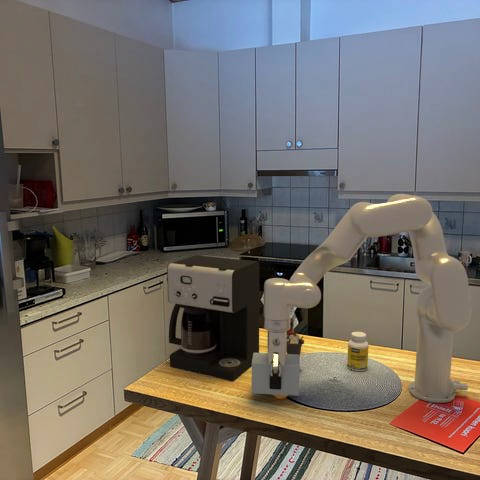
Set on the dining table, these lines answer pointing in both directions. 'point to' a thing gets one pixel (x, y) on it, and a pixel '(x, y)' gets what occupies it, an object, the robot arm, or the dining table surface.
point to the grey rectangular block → (263, 372)
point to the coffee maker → (214, 315)
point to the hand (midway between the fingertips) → (275, 381)
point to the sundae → (294, 343)
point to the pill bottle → (357, 352)
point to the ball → (280, 396)
